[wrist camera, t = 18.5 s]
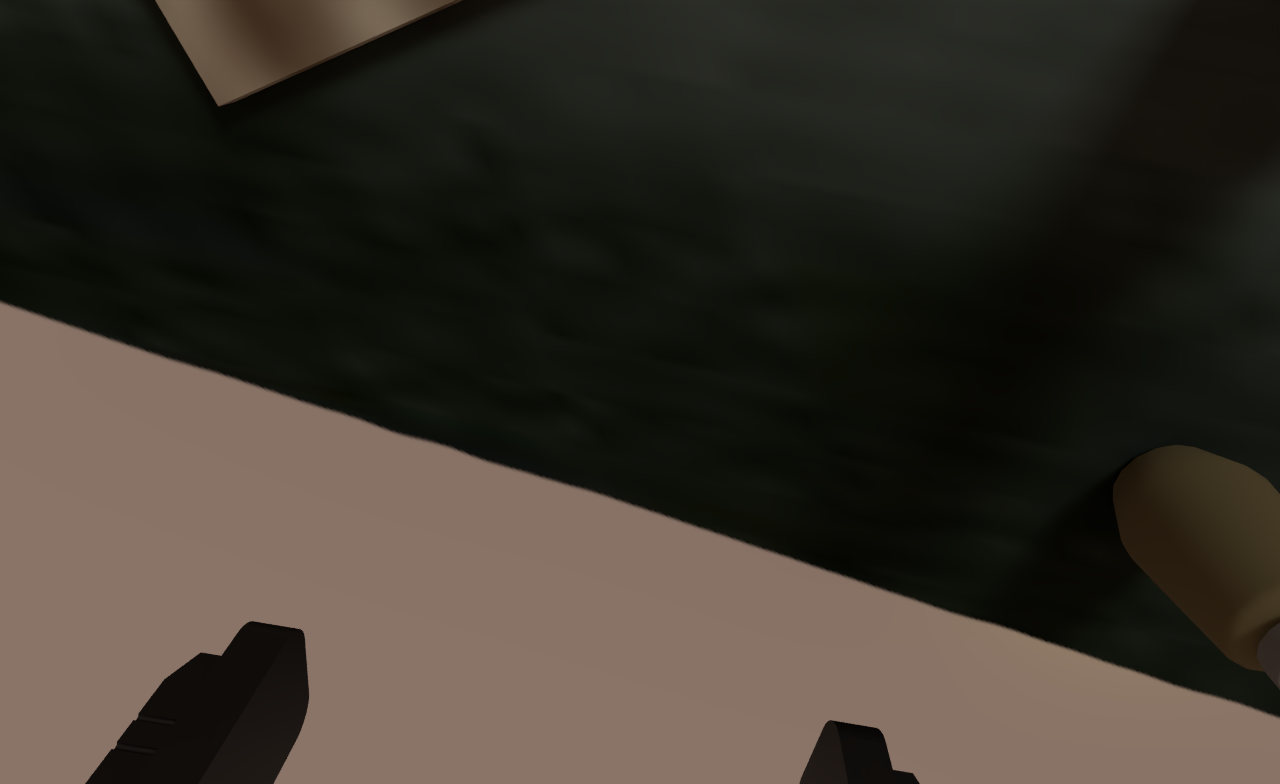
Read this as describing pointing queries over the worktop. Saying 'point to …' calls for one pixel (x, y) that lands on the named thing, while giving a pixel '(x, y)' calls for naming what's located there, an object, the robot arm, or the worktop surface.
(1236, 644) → the squeeze bottle
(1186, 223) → the worktop surface
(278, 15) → the birch board
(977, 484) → the worktop surface
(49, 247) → the worktop surface
